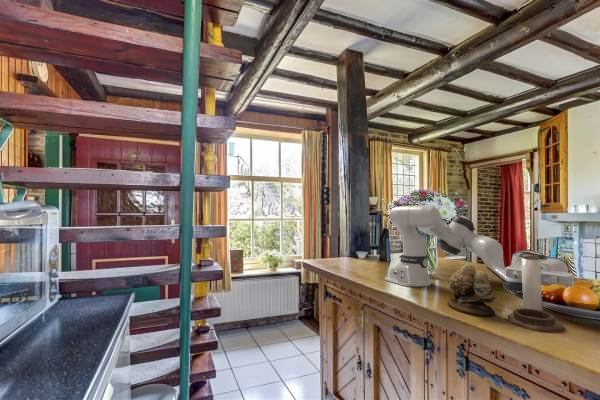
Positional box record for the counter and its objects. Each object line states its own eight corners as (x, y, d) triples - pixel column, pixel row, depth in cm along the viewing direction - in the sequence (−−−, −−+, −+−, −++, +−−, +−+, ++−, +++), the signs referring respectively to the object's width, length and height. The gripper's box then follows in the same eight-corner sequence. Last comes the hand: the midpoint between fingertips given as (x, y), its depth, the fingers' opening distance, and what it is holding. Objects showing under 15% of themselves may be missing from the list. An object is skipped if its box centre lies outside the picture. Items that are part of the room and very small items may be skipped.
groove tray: (500, 321, 99) (499, 312, 99) (517, 312, 107) (517, 304, 107) (553, 335, 88) (553, 325, 88) (568, 324, 96) (568, 315, 96)
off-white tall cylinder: (520, 311, 108) (518, 255, 109) (526, 308, 112) (524, 253, 112) (539, 315, 104) (537, 257, 104) (544, 312, 107) (542, 255, 108)
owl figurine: (506, 315, 106) (505, 266, 106) (485, 321, 101) (483, 269, 101) (460, 300, 122) (458, 258, 122) (439, 305, 117) (438, 261, 117)
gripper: (580, 287, 107) (568, 293, 99) (514, 277, 124) (499, 282, 116) (579, 269, 107) (567, 274, 99) (513, 261, 124) (498, 265, 116)
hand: (530, 278), depth 108 cm, fingers open, 8 cm apart
